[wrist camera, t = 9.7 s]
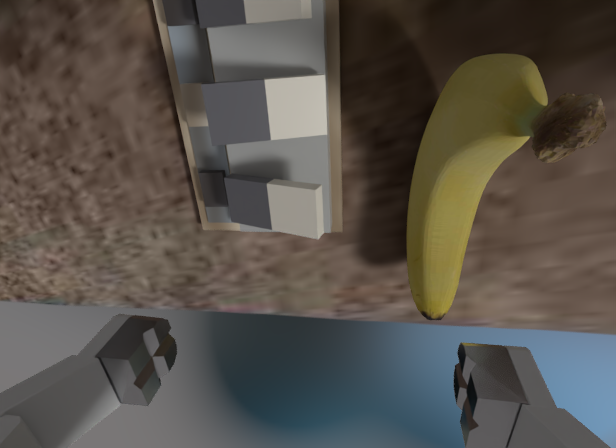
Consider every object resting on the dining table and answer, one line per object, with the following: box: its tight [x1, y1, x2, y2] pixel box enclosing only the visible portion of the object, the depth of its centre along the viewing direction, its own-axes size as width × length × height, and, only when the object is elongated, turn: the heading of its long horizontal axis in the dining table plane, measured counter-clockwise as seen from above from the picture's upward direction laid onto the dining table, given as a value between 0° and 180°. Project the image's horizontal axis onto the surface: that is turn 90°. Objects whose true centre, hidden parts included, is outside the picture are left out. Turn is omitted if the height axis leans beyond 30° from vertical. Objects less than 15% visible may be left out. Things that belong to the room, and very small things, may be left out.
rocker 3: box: [224, 173, 324, 239], centre depth 32 cm, size 9×4×2 cm, turn 93°
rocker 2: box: [201, 74, 327, 146], centre depth 28 cm, size 9×4×2 cm, turn 93°
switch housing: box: [207, 0, 332, 233], centre depth 30 cm, size 9×24×2 cm, turn 3°
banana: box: [407, 53, 606, 320], centre depth 25 cm, size 23×6×20 cm, turn 1°
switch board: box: [153, 0, 343, 232], centre depth 31 cm, size 15×26×2 cm, turn 3°
